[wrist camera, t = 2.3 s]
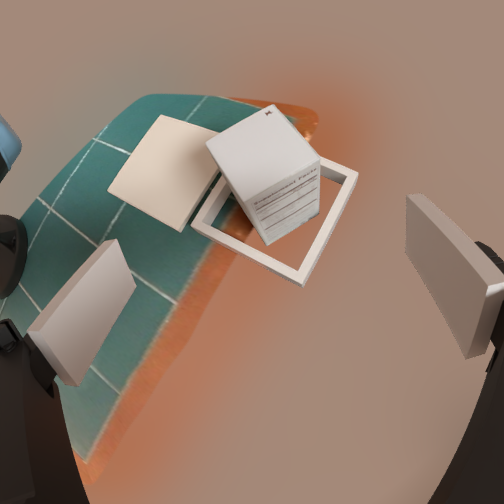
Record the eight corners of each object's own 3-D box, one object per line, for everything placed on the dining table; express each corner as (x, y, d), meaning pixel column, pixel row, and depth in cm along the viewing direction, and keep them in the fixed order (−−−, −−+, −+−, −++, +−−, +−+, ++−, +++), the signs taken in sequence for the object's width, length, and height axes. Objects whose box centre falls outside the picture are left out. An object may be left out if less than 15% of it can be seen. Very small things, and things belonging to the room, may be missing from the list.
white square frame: (197, 232, 38) (190, 225, 35) (255, 141, 40) (251, 130, 37) (302, 288, 34) (301, 284, 31) (356, 183, 36) (358, 172, 33)
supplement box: (235, 199, 38) (201, 140, 26) (287, 168, 38) (274, 100, 26) (265, 249, 36) (241, 203, 24) (321, 215, 36) (323, 156, 24)
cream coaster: (109, 193, 42) (106, 190, 42) (162, 117, 44) (160, 114, 44) (180, 232, 38) (178, 230, 38) (238, 142, 40) (237, 139, 39)
